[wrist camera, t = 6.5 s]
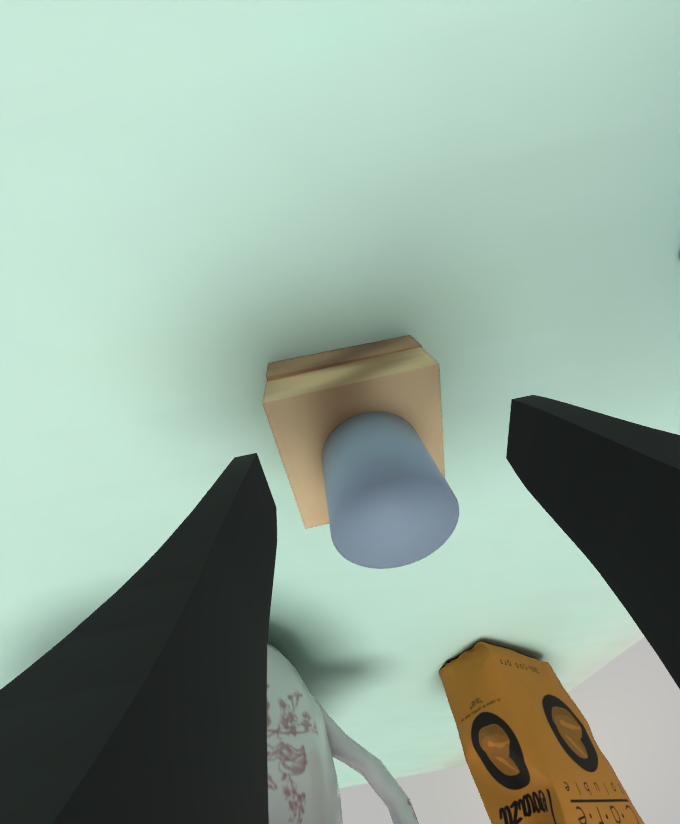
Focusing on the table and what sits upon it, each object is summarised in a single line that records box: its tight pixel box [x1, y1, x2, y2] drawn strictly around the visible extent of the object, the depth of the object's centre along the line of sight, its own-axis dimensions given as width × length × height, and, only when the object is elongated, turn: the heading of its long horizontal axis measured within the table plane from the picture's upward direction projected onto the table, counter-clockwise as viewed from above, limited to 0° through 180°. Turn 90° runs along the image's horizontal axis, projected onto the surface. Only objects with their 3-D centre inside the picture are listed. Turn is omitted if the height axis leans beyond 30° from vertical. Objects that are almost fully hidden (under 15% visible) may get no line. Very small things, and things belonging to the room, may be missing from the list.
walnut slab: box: [266, 335, 422, 381], centre depth 20 cm, size 8×8×2 cm
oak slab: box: [263, 347, 445, 529], centre depth 18 cm, size 8×8×2 cm
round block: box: [322, 412, 459, 569], centre depth 15 cm, size 5×5×4 cm
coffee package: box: [439, 641, 644, 824], centre depth 29 cm, size 10×12×22 cm
